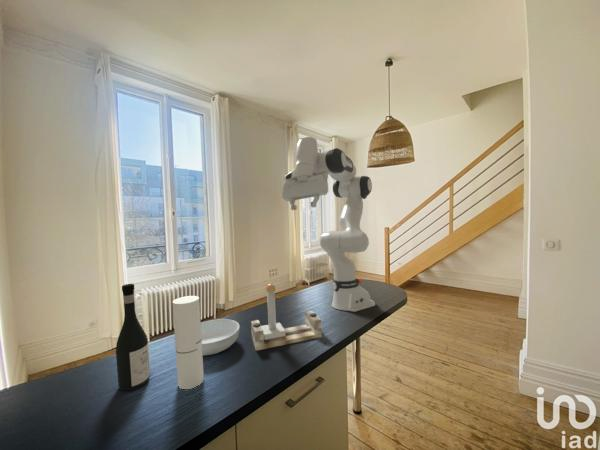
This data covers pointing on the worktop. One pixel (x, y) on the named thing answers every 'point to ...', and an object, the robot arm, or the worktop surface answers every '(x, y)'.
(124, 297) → the wine bottle
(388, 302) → the worktop surface
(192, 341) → the cylindrical container
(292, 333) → the rail
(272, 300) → the carriage
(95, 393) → the worktop surface
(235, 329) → the serving bowl
